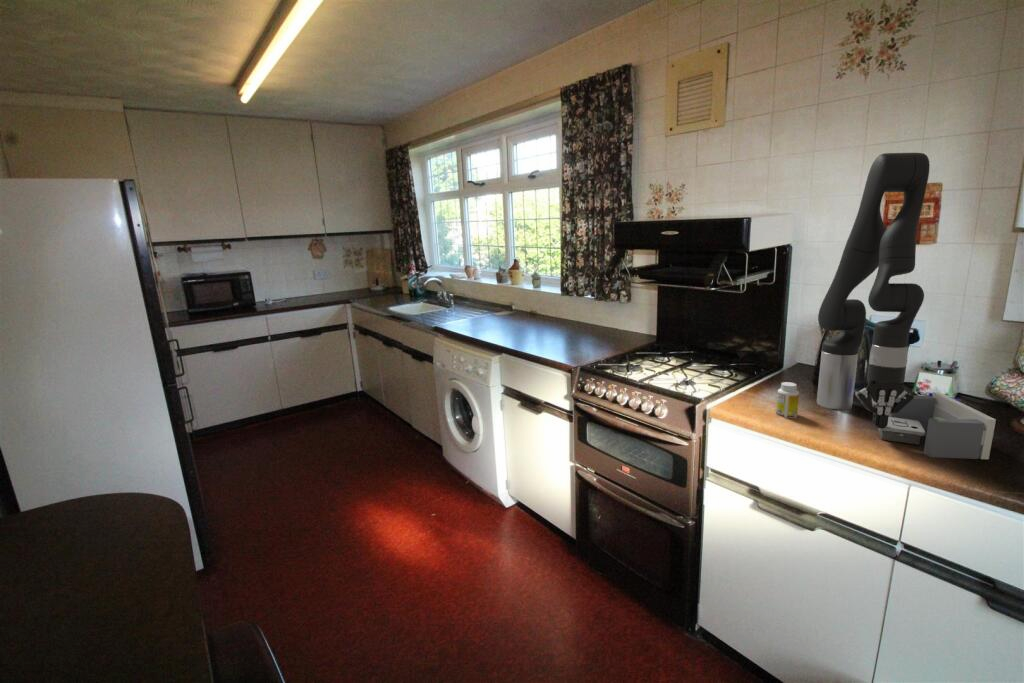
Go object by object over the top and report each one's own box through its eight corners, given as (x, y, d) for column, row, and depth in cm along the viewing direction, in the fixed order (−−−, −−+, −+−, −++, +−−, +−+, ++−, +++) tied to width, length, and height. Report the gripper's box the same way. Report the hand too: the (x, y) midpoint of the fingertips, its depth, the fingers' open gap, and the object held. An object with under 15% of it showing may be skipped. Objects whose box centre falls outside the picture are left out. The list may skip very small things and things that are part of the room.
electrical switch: (927, 433, 118) (882, 421, 123) (919, 451, 120) (875, 438, 124) (920, 420, 126) (878, 409, 131) (913, 438, 128) (871, 426, 132)
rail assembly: (884, 425, 133) (889, 391, 131) (933, 426, 131) (939, 392, 129) (930, 457, 115) (936, 418, 112) (988, 459, 112) (996, 419, 110)
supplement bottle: (798, 415, 143) (801, 383, 141) (794, 421, 139) (797, 388, 137) (778, 411, 147) (780, 380, 144) (773, 417, 143) (776, 384, 140)
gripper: (908, 359, 122) (900, 423, 126) (850, 358, 125) (844, 421, 128) (927, 366, 115) (917, 434, 118) (865, 365, 118) (857, 431, 121)
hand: (879, 427), depth 123 cm, fingers closed
